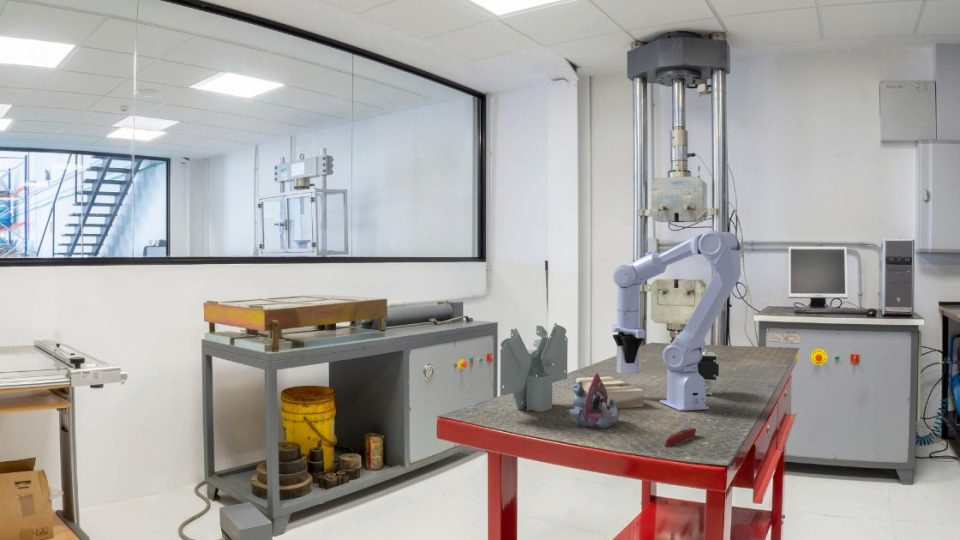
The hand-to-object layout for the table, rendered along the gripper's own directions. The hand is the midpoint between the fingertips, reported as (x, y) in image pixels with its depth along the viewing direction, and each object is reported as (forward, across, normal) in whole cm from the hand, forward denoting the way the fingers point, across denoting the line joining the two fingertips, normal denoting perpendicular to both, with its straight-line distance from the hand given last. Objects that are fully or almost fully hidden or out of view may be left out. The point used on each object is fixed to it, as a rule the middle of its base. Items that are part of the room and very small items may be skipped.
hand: (627, 362), depth 161 cm
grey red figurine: (+9, +23, -20) cm, 32 cm away
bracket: (+9, +7, -28) cm, 30 cm away
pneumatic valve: (+9, +2, +22) cm, 24 cm away
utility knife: (+9, +39, -8) cm, 41 cm away
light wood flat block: (+9, +3, -7) cm, 12 cm away
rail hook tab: (+3, 0, 0) cm, 3 cm away
